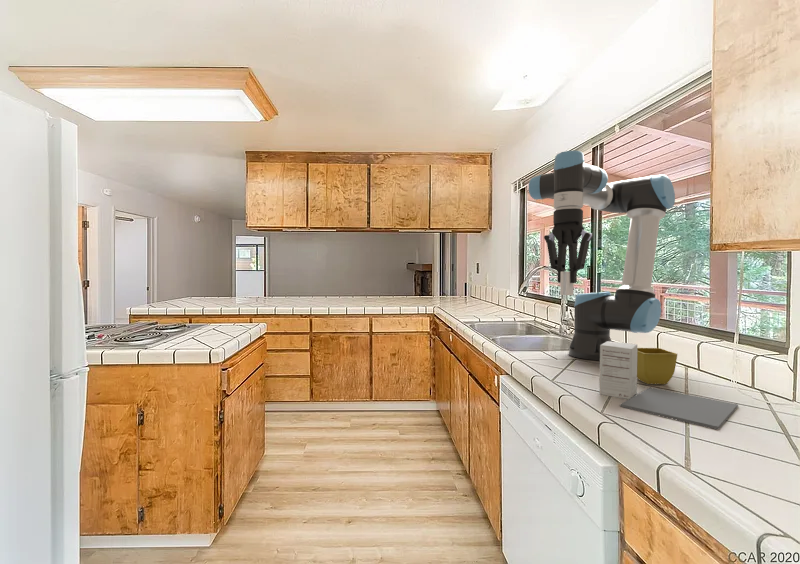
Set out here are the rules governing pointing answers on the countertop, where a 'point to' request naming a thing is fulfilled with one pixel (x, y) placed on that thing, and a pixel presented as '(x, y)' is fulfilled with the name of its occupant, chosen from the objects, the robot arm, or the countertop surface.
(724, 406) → the mat
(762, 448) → the countertop surface
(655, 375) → the flower pot
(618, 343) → the supplement box
